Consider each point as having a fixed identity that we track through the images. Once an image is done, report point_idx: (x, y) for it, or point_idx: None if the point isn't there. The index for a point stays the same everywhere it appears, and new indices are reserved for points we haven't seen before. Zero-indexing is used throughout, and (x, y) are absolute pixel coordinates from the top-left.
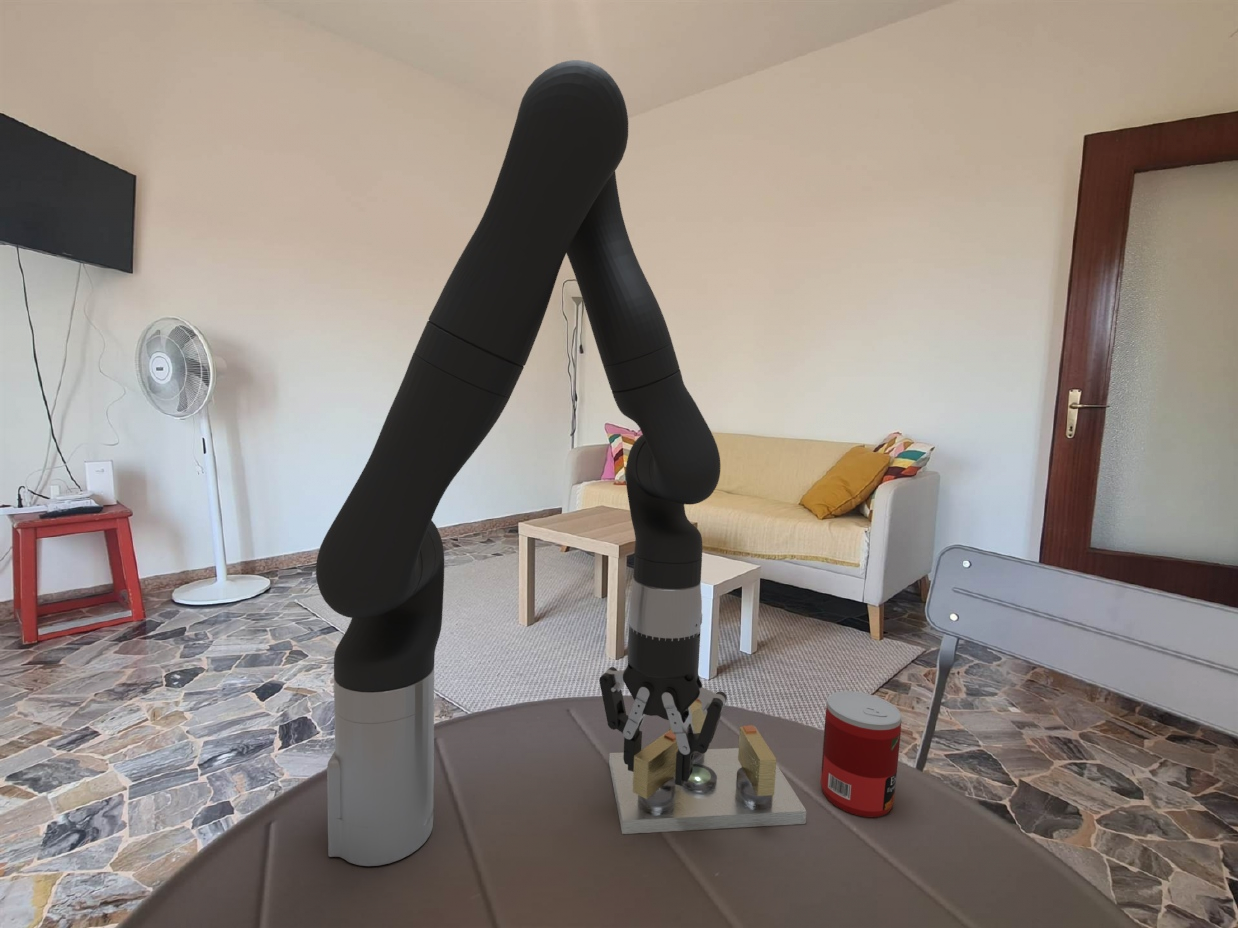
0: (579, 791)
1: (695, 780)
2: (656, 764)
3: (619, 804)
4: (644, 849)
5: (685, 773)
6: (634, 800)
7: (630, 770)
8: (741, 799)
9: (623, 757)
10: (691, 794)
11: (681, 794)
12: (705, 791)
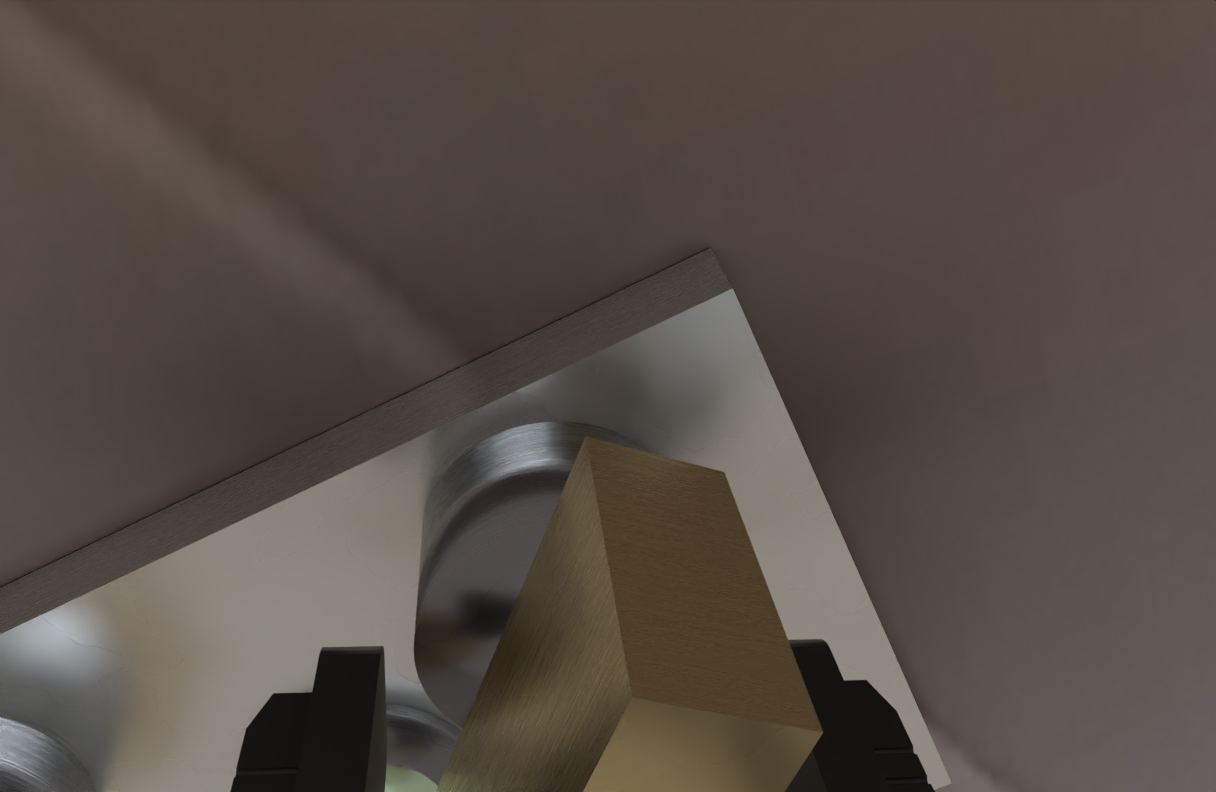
0: (1056, 479)
1: None
2: (560, 732)
3: (792, 424)
4: (523, 173)
5: (280, 753)
6: None
7: (799, 639)
8: (2, 748)
9: (901, 721)
10: None
11: None
12: None
